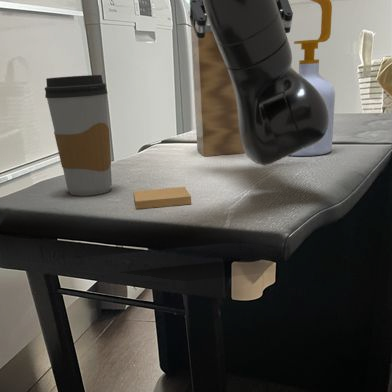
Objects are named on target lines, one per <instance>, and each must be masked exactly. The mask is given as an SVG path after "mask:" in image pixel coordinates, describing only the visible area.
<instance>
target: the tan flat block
mask: <svg viewBox="0 0 392 392" xmlns="http://www.w3.org/2000/svg"><path fill="white" fill-rule="evenodd" d="M132 193H133V200H134V205H135V209H136V210H143V209H151V208H152V209H154V208H163V207H175V206H185V205H192V196H191V194H190V193H189V190H187V188H186V186H178V187H166V188H158V189H157V188H155V189H146V190H145V189H144V190H133V192H132Z"/></svg>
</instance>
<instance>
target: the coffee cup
mask: <svg viewBox="0 0 392 392" xmlns="http://www.w3.org/2000/svg"><path fill="white" fill-rule="evenodd" d="M102 76H103V75H102V74H90V75H89V74H87V75H72V76H59V77H57V76H56V77H47V78H46V79H45V80H46V86H45V87H44V91H45V95H44V96H45V97H44V98H45V99H46V100H47V105H48V109H49V114H50V118H51V123H52V127H53V134H54V138H55V142H56V146H57V147H56V148H57V152H58V156H59V160H60V165H61V168H62V170H63V174H64V179H65V183H66V187H67V188H66V189H67V190H68V191H69V192H70V195H72V196H77V197H78V196H79V197H86V196H87V197H88V196H97V195H102V194H105V193H108V192H110V191H111V187H112V186H113V180H112V167H111V166H112V165H111V164H112V156H111V140H110V139H111V138H110V127H109V115H108V99H107V95H108V90H107V88H106V87H107V84H106V83H105V82H104V81H103V80H104V79H103V77H102Z"/></svg>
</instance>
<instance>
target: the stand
mask: <svg viewBox="0 0 392 392" xmlns="http://www.w3.org/2000/svg"><path fill="white" fill-rule="evenodd" d="M190 36H191V37H190V39H191V40H190V41H191V55H192V56H191V57H192V77H193V93H194V94H193V95H194V113H195V115H194V116H195V131H196V133H195V134H196V135H195V136H196V150H197V152H198V153H199V154H201V156H203V157H215V156H226V155H239V154H246V153H245V151H244V149H243V146H242V143H241V138H240V131H239V120H238V109H237V102H236V96H235V91H234V88H233V84H232V81H231V78H230V75H229V72H228V69H227V67H226V64H225V62H224V60H223V57H222V55H221V52H220V50H219V47H218V45H217V42H216V40H215V37H214V34H213V32H212V31H210V32H205V37H204V38H198V37H197V35H196V33H195V30H194V28H193V26H192V23H191V22H190Z"/></svg>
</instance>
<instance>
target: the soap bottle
mask: <svg viewBox="0 0 392 392" xmlns="http://www.w3.org/2000/svg"><path fill="white" fill-rule="evenodd" d="M310 1H311V2H314V3H317V4H318V5H319V6H320V8H321V9H320V10H321V19H320V20H321V21H320V22H321V24H320V35H319V37H318V39H307V40H305V39H304V40H295V41H293V44H294V45H300V44H301V45H300V50H302V51H303V50H304V51H303V52H304V53H303V54H304V56H303V60H299V62H298V74H299V75H300V76H302V77H303V78H305V79H306V80H307V81H308V82H309V83H311V84H312V85H313V86H314V87H315V88H316V89H317V91H318V92H319V93H320V95H321V96H322V98H323V99H324V101H325V103H326V106H327V109H328V113H329V125H328V129H327V131H326V133H325V135H324V137H323V138H322V139H321V140H320V141H319V142H317V143H315V144H313V145H311V146H309V147H307V148H305V149H304V148H303V149H302V150H300V151H298V152H296V153H294V154H291V155H290V157H313V156H314V157H315V156H321V155H326V154H328V153H330V152H332V150H333V137H334V119H335V101H336V100H335V99H336V91H335V88H334V86H333V84H331V83H330V81H328V80H327V79H326V78H324V77H323V76H321V75H320V72H319V71H320V58H319V59H318V58H317V59H315V49H316V50H318V49H319V43H324V42H327V41H328V40H329V39H330V37H331V34H332V14H333V13H332V12H333V11H332V10H333V3H332V1H331V0H310Z"/></svg>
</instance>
